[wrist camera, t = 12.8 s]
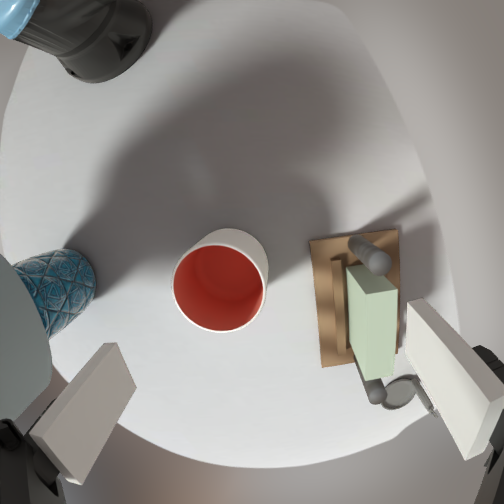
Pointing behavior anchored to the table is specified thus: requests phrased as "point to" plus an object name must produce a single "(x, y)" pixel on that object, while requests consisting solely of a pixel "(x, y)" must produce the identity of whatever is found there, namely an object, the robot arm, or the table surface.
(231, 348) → the table surface
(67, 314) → the lamp
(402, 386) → the pocket watch
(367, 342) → the door
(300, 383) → the table surface
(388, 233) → the hinge board
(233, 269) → the cup
